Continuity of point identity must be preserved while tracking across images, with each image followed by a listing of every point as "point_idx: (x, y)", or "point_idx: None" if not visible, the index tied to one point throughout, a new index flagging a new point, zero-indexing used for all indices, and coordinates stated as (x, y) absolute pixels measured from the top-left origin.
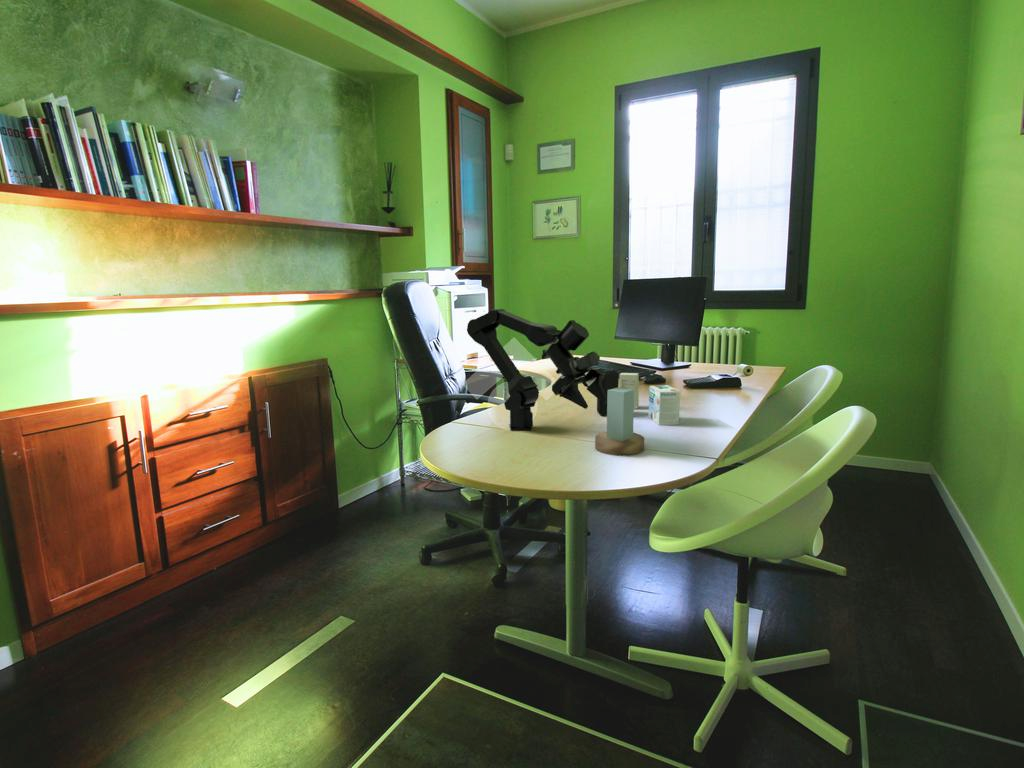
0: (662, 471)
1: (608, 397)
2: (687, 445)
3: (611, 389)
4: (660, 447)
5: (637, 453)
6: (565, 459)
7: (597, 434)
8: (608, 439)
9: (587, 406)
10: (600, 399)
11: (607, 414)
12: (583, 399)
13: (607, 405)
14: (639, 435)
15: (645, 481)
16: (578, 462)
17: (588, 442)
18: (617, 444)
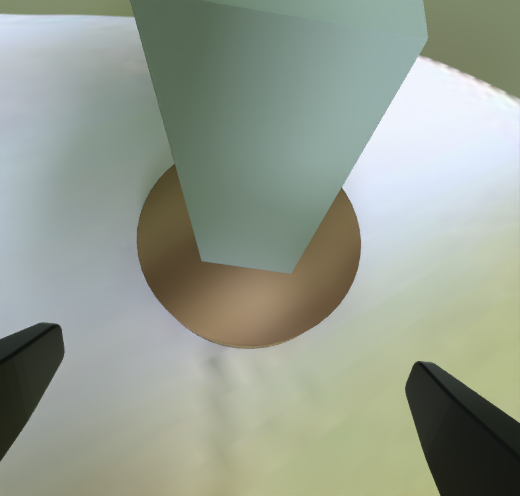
0: None
1: (375, 115)
2: (94, 85)
3: (347, 13)
4: (159, 140)
5: None
6: (507, 357)
7: (263, 340)
8: (311, 254)
9: (429, 363)
10: (23, 414)
11: (323, 217)
12: (510, 427)
13: (345, 179)
14: (175, 173)
15: (466, 93)
16: (493, 296)
17: (241, 407)
18: (347, 199)
